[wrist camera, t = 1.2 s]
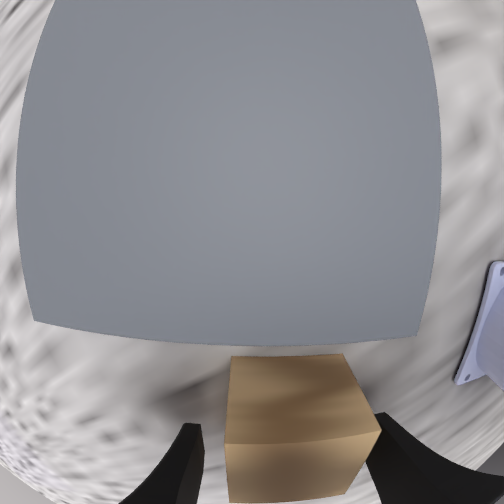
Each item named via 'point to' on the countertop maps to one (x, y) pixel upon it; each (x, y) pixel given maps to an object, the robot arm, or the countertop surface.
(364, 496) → the countertop surface
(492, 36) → the countertop surface
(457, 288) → the countertop surface
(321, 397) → the tan cube
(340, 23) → the base block
